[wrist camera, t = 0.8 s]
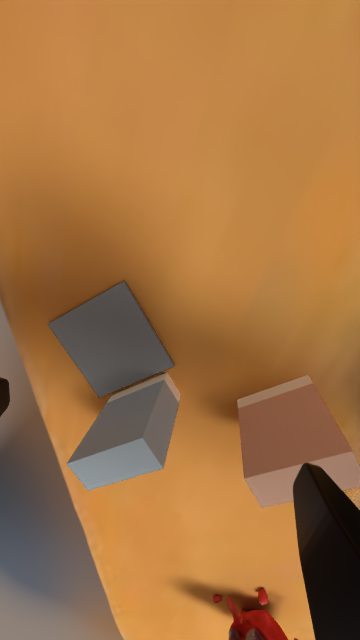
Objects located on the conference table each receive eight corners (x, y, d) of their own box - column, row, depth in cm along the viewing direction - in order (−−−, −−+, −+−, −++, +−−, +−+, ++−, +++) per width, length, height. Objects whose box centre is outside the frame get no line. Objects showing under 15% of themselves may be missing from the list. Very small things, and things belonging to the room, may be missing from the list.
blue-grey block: (181, 394, 23) (163, 468, 16) (125, 415, 24) (87, 490, 17) (167, 371, 22) (142, 437, 15) (111, 395, 24) (66, 463, 17)
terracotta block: (319, 399, 21) (368, 485, 14) (249, 421, 23) (261, 508, 16) (307, 374, 20) (352, 450, 13) (237, 399, 22) (244, 478, 15)
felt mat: (174, 364, 22) (173, 366, 22) (100, 395, 24) (99, 397, 24) (124, 280, 20) (123, 281, 20) (49, 323, 22) (47, 324, 22)
